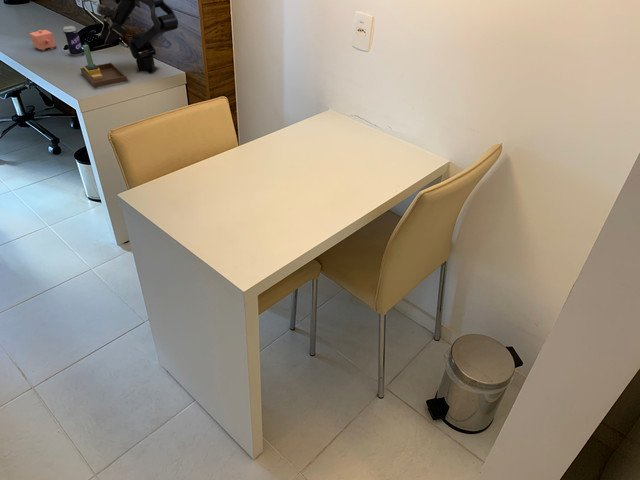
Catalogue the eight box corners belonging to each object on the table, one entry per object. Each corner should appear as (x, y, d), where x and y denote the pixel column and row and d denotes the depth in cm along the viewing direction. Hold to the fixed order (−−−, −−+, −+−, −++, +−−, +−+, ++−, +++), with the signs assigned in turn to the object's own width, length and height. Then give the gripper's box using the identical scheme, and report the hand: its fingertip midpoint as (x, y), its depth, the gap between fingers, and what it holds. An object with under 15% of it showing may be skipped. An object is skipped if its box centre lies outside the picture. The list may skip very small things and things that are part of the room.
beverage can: (74, 57, 225) (66, 30, 217) (67, 54, 227) (59, 27, 220) (85, 54, 228) (78, 27, 221) (79, 51, 231) (71, 24, 223)
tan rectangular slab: (101, 76, 206) (100, 73, 205) (103, 78, 204) (102, 75, 203) (91, 78, 204) (90, 75, 203) (93, 80, 202) (92, 77, 201)
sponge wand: (97, 71, 210) (89, 42, 203) (101, 74, 207) (93, 46, 199) (85, 73, 208) (77, 44, 200) (89, 77, 204) (81, 48, 197)
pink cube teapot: (43, 53, 228) (37, 35, 222) (32, 47, 234) (26, 29, 229) (60, 49, 232) (54, 31, 227) (49, 43, 238) (43, 26, 233)
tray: (81, 74, 208) (80, 68, 207) (112, 68, 215) (111, 62, 213) (95, 88, 197) (93, 82, 195) (127, 82, 203) (126, 76, 201)
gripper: (101, -9, 200) (80, 23, 203) (110, 1, 188) (89, 34, 190) (125, 9, 208) (105, 39, 211) (136, 20, 196) (114, 52, 198)
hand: (103, 41), depth 202 cm, fingers open, 9 cm apart
